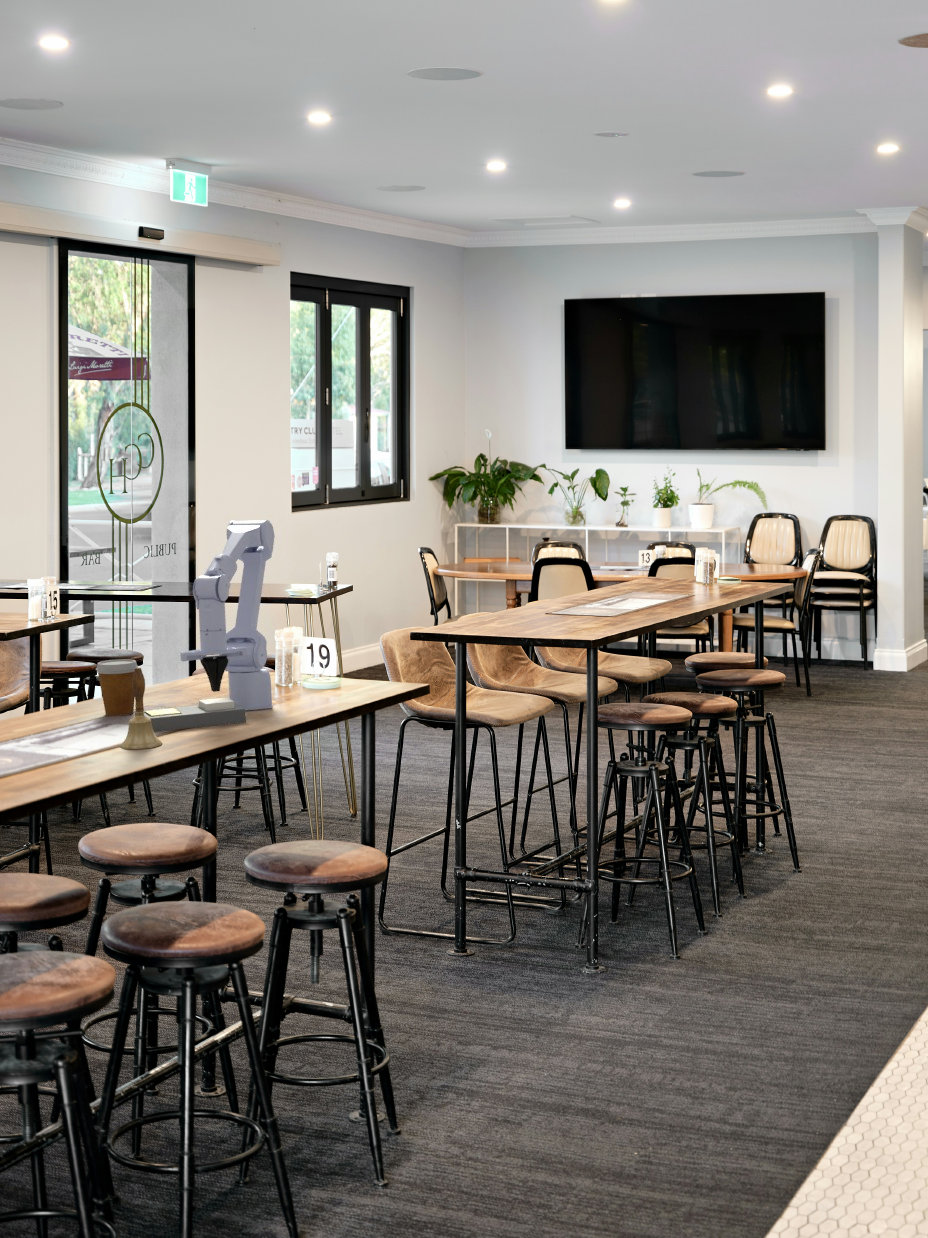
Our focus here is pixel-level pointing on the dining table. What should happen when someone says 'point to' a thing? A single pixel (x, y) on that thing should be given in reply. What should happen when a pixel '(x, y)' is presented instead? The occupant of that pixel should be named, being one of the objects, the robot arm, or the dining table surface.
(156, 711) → the brass button
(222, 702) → the white button
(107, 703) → the disposable coffee cup
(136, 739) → the hand bell
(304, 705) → the dining table surface
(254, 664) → the robot arm
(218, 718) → the panel
